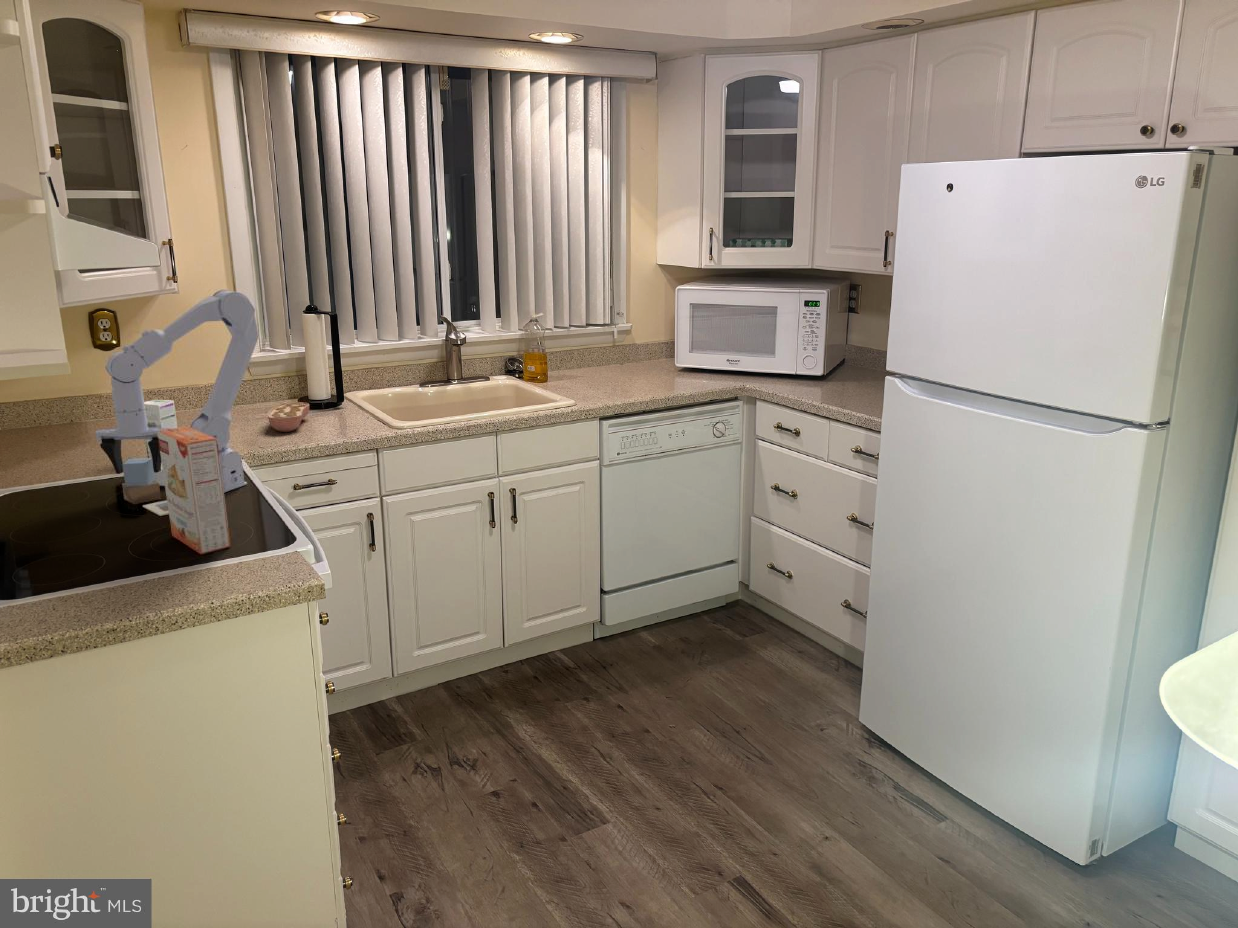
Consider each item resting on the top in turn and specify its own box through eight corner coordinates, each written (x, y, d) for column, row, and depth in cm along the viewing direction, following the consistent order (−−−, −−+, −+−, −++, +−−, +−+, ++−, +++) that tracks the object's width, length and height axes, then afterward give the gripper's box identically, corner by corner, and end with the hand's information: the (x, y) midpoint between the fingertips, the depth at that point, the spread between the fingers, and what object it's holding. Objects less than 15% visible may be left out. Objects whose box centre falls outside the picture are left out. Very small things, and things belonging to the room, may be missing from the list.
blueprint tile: (189, 509, 193) (189, 507, 193) (160, 515, 189) (159, 513, 189) (172, 500, 199) (171, 498, 199) (142, 506, 195) (142, 505, 195)
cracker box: (169, 537, 176) (155, 430, 171) (202, 530, 180) (188, 425, 175) (198, 556, 167) (184, 442, 161) (232, 547, 171) (219, 437, 165)
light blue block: (155, 480, 202) (152, 457, 201) (147, 485, 198) (144, 463, 196) (133, 480, 201) (130, 458, 200) (125, 486, 197) (122, 463, 196)
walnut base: (160, 498, 201) (158, 483, 200) (134, 504, 197) (131, 488, 196) (150, 493, 204) (148, 478, 203) (124, 499, 200) (122, 483, 199)
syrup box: (182, 455, 237) (175, 399, 233) (165, 461, 231) (158, 404, 228) (163, 454, 238) (156, 398, 235) (146, 459, 233) (138, 403, 229)
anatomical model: (300, 434, 260) (299, 417, 259) (263, 436, 258) (261, 418, 257) (312, 417, 282) (311, 401, 281) (278, 419, 280) (277, 402, 279)
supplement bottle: (161, 456, 215) (177, 464, 209) (162, 478, 217) (178, 487, 210) (136, 458, 212) (152, 466, 205) (137, 481, 213) (153, 490, 206)
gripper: (172, 405, 200) (180, 466, 204) (101, 406, 198) (110, 468, 202) (161, 411, 193) (169, 474, 197) (87, 413, 192) (97, 477, 195)
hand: (138, 472), depth 199 cm, fingers open, 7 cm apart
